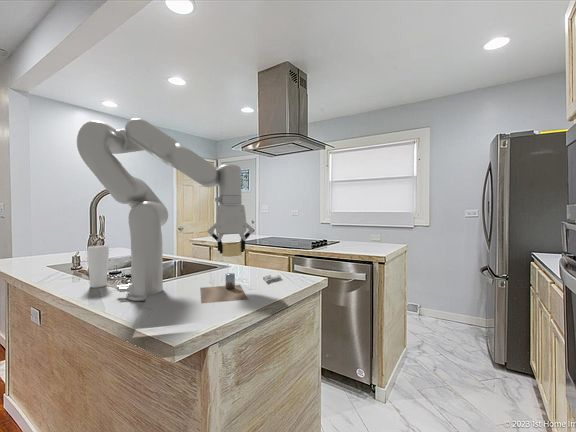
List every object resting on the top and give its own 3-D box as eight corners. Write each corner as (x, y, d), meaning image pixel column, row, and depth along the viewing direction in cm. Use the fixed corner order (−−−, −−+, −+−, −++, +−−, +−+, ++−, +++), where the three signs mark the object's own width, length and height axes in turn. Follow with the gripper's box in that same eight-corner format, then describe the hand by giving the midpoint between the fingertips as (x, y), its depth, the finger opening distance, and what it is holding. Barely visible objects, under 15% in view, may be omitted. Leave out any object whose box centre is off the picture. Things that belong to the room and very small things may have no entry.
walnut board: (201, 308, 89) (201, 303, 89) (200, 291, 107) (200, 287, 107) (248, 304, 94) (248, 299, 93) (240, 289, 111) (240, 284, 111)
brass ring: (222, 256, 101) (222, 245, 101) (221, 254, 108) (220, 242, 107) (242, 255, 103) (242, 244, 103) (239, 253, 110) (239, 241, 109)
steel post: (226, 290, 104) (226, 275, 104) (225, 287, 107) (225, 273, 107) (235, 289, 105) (235, 274, 104) (234, 287, 108) (234, 273, 108)
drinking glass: (90, 284, 116) (90, 245, 115) (110, 283, 118) (110, 245, 117) (85, 289, 109) (84, 247, 109) (106, 288, 111) (105, 247, 111)
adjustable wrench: (248, 295, 105) (248, 290, 105) (233, 292, 108) (233, 287, 108) (282, 279, 127) (282, 275, 127) (269, 277, 130) (269, 273, 130)
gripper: (204, 201, 99) (206, 255, 99) (257, 200, 104) (258, 252, 104) (204, 201, 106) (205, 252, 106) (253, 201, 111) (254, 249, 112)
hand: (231, 252), depth 105 cm, fingers closed on brass ring, 6 cm apart
